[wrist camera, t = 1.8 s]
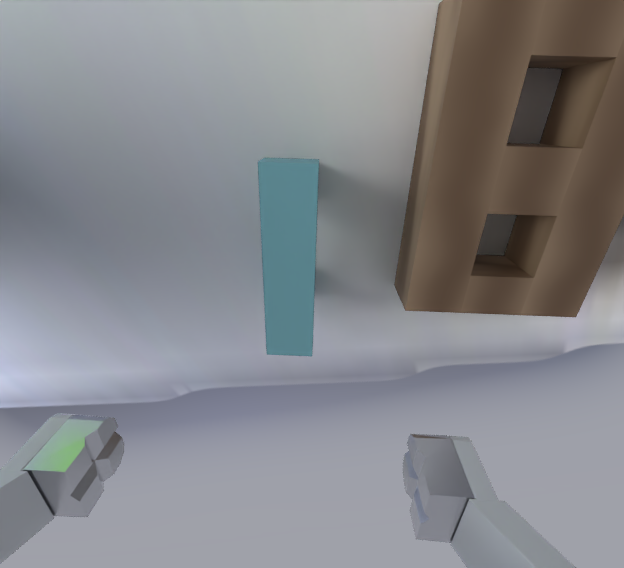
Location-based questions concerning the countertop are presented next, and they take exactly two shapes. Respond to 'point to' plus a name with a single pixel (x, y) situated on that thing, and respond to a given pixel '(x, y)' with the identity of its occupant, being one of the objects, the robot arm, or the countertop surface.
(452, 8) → the wooden board with holes
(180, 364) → the countertop surface
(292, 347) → the teal long block
